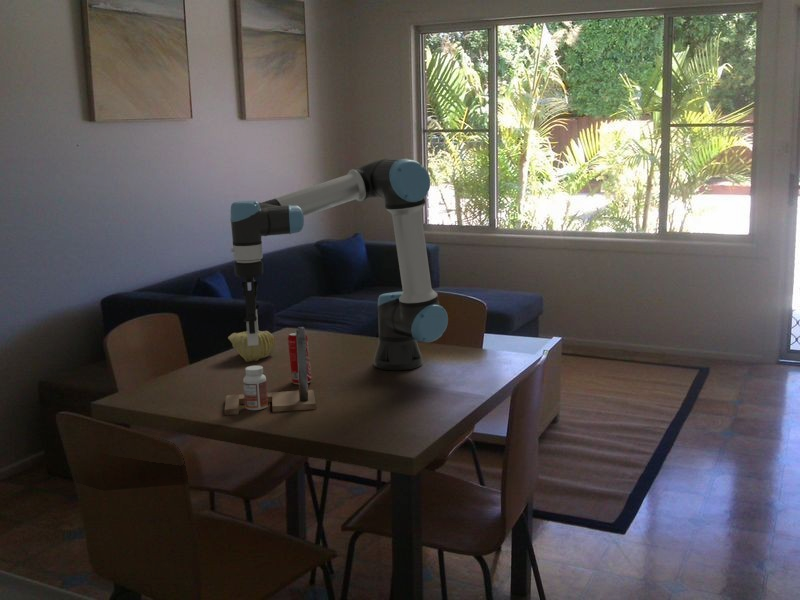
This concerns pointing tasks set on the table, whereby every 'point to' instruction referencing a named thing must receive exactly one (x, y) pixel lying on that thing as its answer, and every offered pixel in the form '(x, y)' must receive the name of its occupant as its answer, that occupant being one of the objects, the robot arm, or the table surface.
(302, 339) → the hook post
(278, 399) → the notched tan block
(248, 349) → the seashell
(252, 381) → the pill bottle
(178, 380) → the table surface
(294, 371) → the beverage can
